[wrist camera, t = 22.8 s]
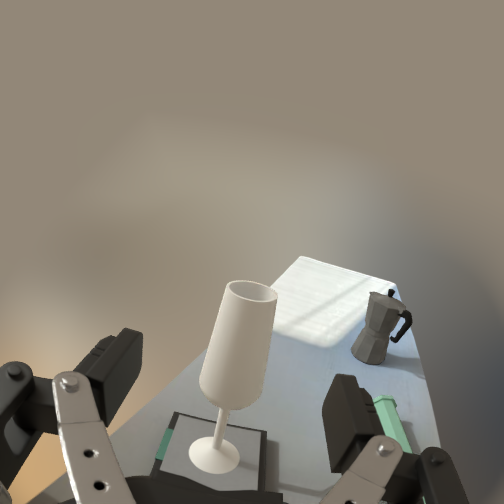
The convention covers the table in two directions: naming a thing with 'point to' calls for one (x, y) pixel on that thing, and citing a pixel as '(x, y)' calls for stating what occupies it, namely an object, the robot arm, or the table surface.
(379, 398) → the container
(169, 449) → the scale
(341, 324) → the table surface
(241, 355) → the champagne flute
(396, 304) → the coffeepot
